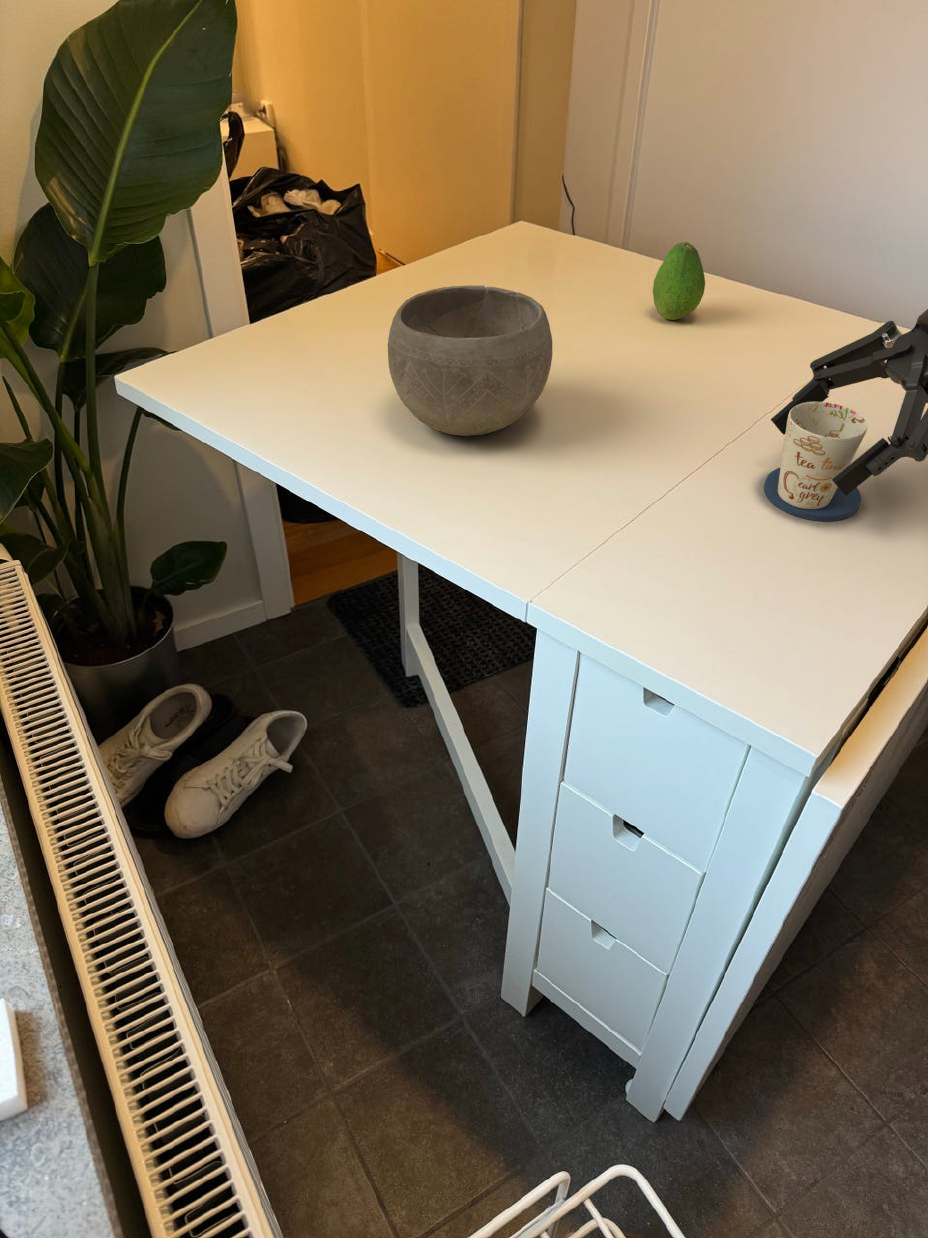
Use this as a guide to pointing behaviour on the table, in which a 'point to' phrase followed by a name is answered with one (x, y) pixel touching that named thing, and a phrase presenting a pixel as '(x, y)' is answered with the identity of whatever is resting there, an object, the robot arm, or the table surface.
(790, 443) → the mug
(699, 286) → the fruit
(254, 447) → the table surface
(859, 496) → the coaster
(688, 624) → the table surface
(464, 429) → the bowl
